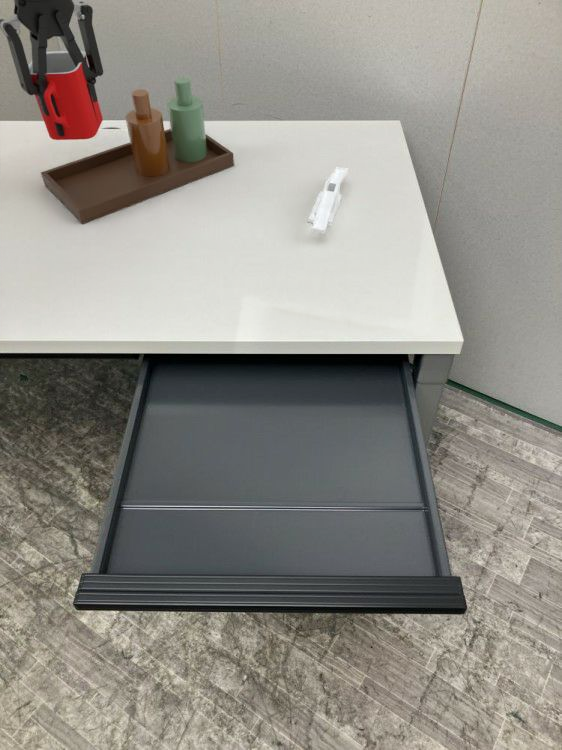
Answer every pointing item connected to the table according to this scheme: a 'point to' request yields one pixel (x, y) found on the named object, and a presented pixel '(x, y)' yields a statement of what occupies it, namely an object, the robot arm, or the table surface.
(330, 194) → the white long narrow piece
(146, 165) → the amber bottle
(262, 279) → the table surface
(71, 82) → the mug
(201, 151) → the sage bottle
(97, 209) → the tray
